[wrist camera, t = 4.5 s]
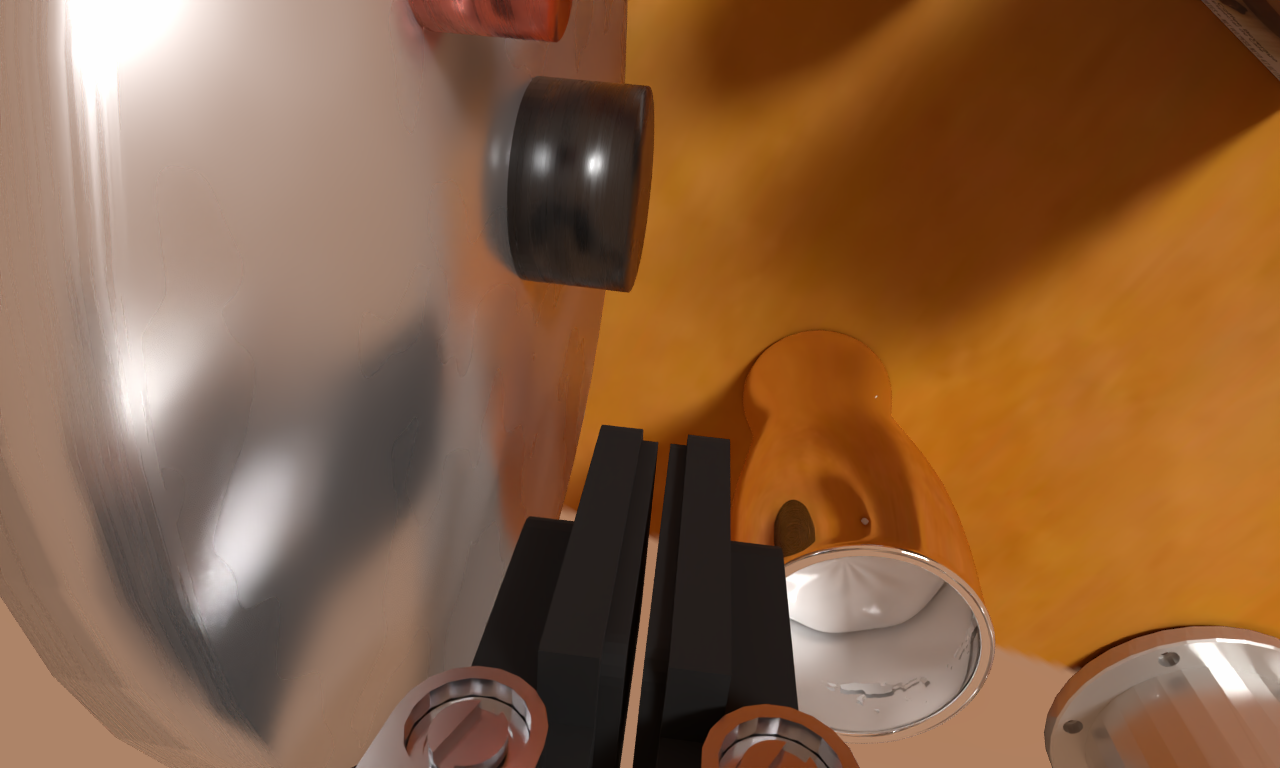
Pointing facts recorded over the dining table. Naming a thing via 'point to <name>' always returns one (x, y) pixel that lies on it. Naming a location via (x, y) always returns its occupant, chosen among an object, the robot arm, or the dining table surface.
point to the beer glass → (859, 544)
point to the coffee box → (1253, 27)
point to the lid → (295, 343)
